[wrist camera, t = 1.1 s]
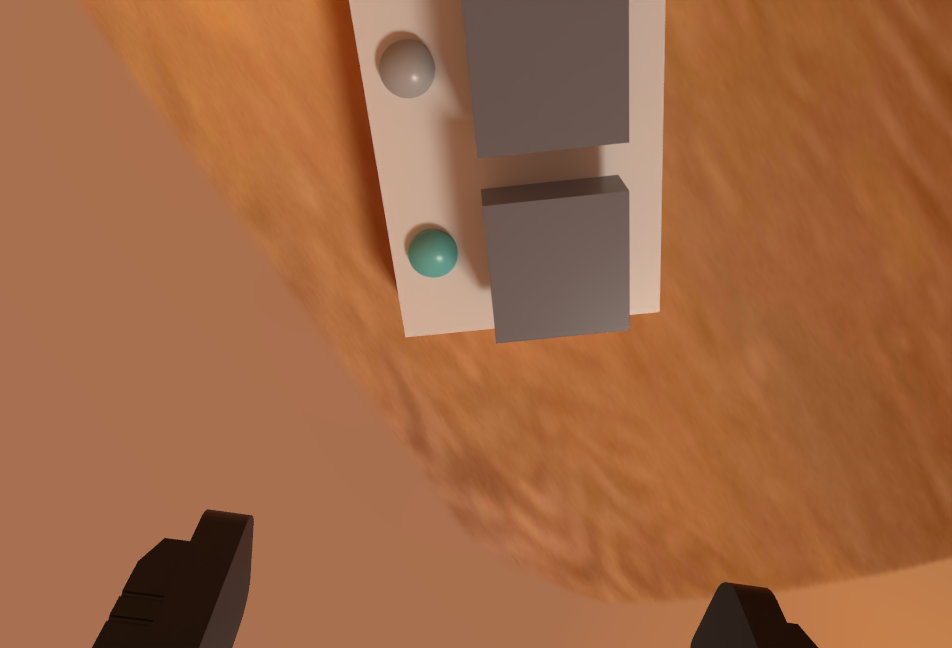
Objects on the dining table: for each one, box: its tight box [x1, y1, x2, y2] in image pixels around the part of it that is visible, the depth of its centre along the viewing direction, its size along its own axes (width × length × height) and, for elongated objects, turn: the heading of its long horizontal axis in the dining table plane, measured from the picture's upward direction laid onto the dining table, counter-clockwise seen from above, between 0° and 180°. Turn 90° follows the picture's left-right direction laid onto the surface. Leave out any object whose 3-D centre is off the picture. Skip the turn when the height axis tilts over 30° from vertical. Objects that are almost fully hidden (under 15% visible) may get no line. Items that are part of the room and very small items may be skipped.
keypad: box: [349, 0, 665, 337], centre depth 27 cm, size 22×11×3 cm, turn 6°
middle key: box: [461, 0, 629, 159], centre depth 24 cm, size 6×5×2 cm
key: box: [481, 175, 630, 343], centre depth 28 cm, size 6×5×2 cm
